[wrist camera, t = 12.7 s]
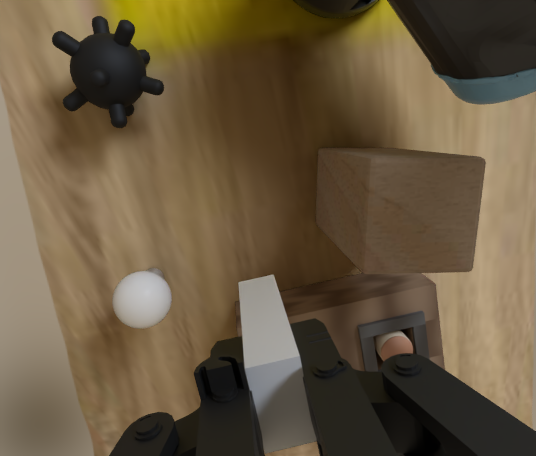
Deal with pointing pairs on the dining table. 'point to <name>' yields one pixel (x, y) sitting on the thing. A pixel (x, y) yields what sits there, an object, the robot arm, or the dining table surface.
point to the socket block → (369, 314)
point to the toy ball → (107, 70)
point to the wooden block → (400, 208)
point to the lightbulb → (142, 299)
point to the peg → (392, 344)
